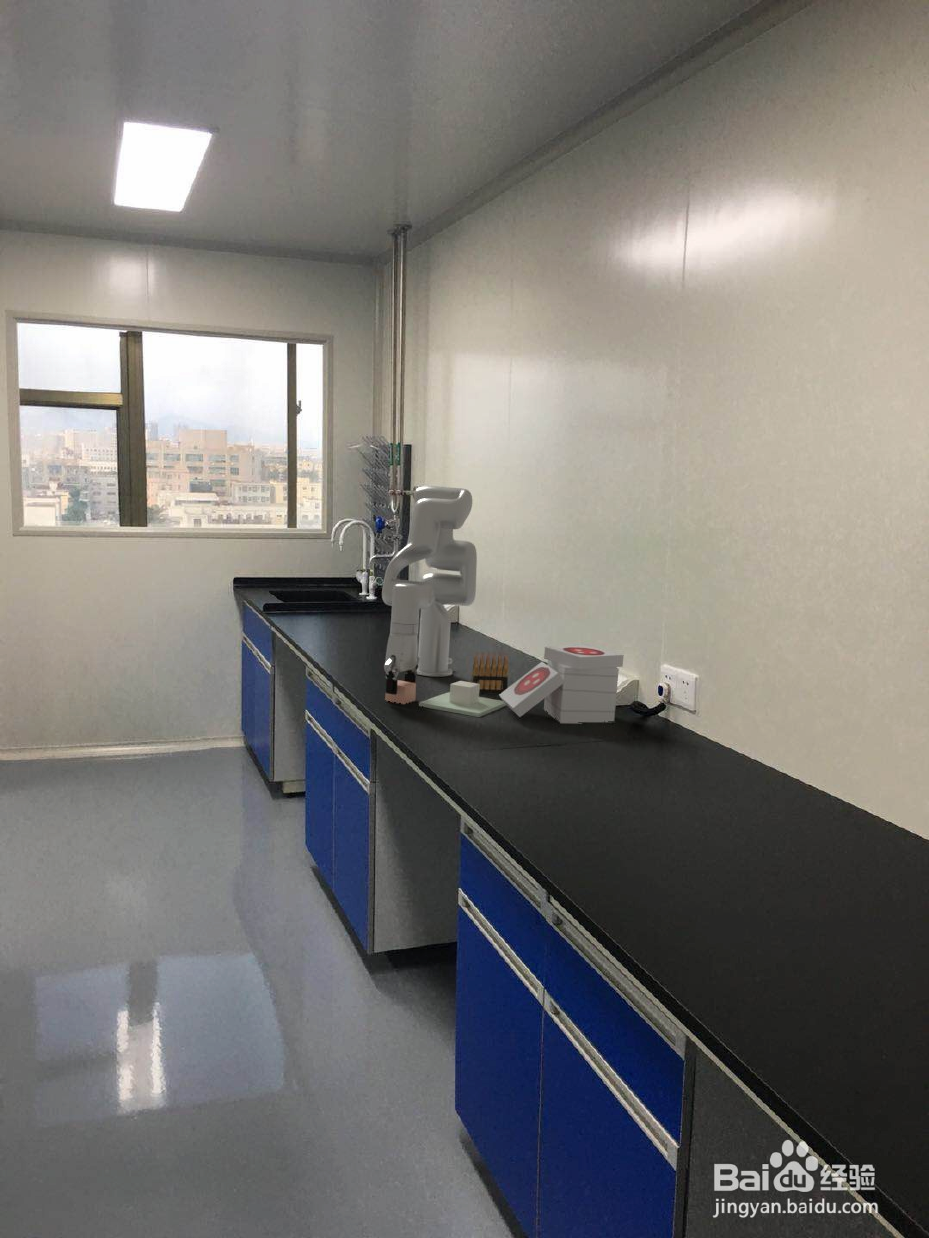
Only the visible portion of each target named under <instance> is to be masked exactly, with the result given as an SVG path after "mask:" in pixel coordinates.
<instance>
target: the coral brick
mask: <svg viewBox="0 0 929 1238" xmlns="http://www.w3.org/2000/svg"><path fill="white" fill-rule="evenodd" d="M397 680H398V683H397V694H396V695H393V694H388V693H386V692H385V698H384V701H385V700H386V701H385V702H388V701H390V702H389V703H394V702H396V703H395V704H399V703H401V704H400V705H406V703H407V704H409V702H410V703H412V701H413V702H415V701H416V695H417V693H416V691H417V682H415V683H411V682H406V681H404V680H401V679H400V680H399V679H397Z"/></svg>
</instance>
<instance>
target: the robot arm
mask: <svg viewBox="0 0 929 1238" xmlns="http://www.w3.org/2000/svg"><path fill="white" fill-rule="evenodd" d="M413 494H414V495H413V498H414V506H413V511H412V517H411V522H410V527H409V533H408V538H407V543H406V545H405V546H404V547H403V548H402V549H401V550H400V551H398V552H397V553H396V554H395V555H394V556H393V557H392V559H391V560H390V561H389V563H388V565H387V567H386V569H385V573H384V578H383V584H382V589H381V590H382V591H381V598H382V601H383V603H384V604H385V605H387V606H391V612H390V613H391V615H390V616H391V618H390V629H389V630H390V631H389V632H390V633H389V635H388V640H387V645H386V653H385V662H384V664H383V669H384V675H385V694H386V693H388V694H393V695H396V694H397V683H398V680H399V679H398V676H399V674H400V673H403V672H405V673H404V679H403V681H406V682H411V683H416V678H417V675H418V676H425V677H432V678H433V677H435V678H436V677H438V678H439V677H449V676H452V675H453V670H452V668H450V667H449V665H450V664H453V659H452V658H451V657H449V653H450V641H451V640H450V638H451V637H450V636H451V623H452V621H451V615H450V613H449V611H448V610H447V609H446V607H445V606H447V605H448V606H459V607H468V606H471V605H473V603H474V601H475V598H476V590H477V567H478V566H477V565H478V564H477V562H478V560H477V559H478V557H477V554H478V553H477V549H476V546H475V544H474V543H472V542H471V541H467V540H459V539H454V530H459V529H461V528H462V526H464V524H465V522H466V520H467V519H468V517H469V515H470V514H471V511H472V507H473V495H472V493H471V492H470V491H469V490H468V489H466V488H460V487H459V488H458V487H447V486H434V485H423V486H420V487H418V488H416V489H415V491H414V493H413ZM422 560H424V561H425V564H426V566H427V567H428V568H430V569H433V570H439V571H447V572H448V571H449V572H458V573H459V574H451V573H443V572H429V573H426V574H423V576H422V577H420V580H419V581H417V580H408V579H397V577H398V575H399V573H400V572H401V571H402V570H403V569H404V568H406V567H407V566H409V565H411V564H413V563H417V562H420V561H422ZM418 636H419V637H418Z"/></svg>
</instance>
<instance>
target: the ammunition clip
mask: <svg viewBox="0 0 929 1238" xmlns="http://www.w3.org/2000/svg"><path fill="white" fill-rule="evenodd" d="M497 658H498V659H497ZM473 659H474V660H473V665H472V666H473V667H472V675H471V680H470V682H471V683H477V684H480V689H479V694H488V693H502V692H503V691H505V690H506V689H507V688H508V684H509V683H508V676H509V675H508V674H509V657H508V653H507V652H506V653H505V654H504V657H503V655H502V653H501V652H500V653H499V655H498V657H497V654H496V652H493V655H492V659H491V654H490V652H488V653H487V655H486V662H485V653H484V652H481V655H480V660H479V653H478V651H476V652H475V655H474V658H473Z"/></svg>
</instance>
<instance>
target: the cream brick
mask: <svg viewBox="0 0 929 1238" xmlns="http://www.w3.org/2000/svg"><path fill="white" fill-rule="evenodd" d="M479 689H480V684H477V683H471V681H464V680H459V681H458V680H457V681H456V682H453V683H450V687H449V690H450V691H449V692H450V699H449V702H451V703H457V704H463V705H468V706H470V705H472V704H475V703H477V702H479V697H480V693H479Z"/></svg>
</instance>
